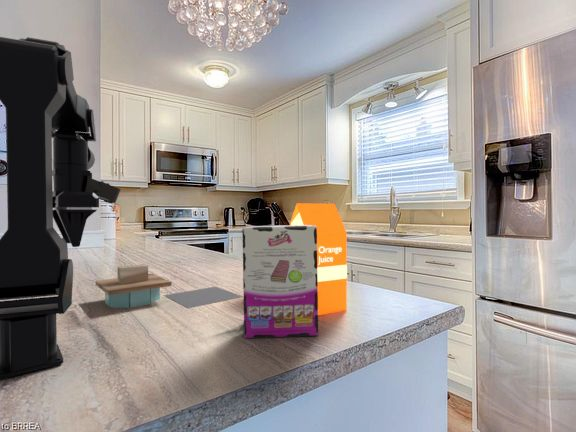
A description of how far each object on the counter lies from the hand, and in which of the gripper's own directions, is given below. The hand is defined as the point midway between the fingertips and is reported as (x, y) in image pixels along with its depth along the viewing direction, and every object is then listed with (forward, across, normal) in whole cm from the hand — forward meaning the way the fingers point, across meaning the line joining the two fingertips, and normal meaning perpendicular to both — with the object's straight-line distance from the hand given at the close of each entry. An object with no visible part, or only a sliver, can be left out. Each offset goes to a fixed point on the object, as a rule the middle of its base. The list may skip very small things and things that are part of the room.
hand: (72, 244), depth 65 cm
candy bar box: (+12, -38, -22) cm, 46 cm away
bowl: (+12, -8, -9) cm, 17 cm away
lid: (+8, -8, -9) cm, 15 cm away
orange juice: (+12, -33, -35) cm, 50 cm away
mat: (+12, -14, -21) cm, 28 cm away
